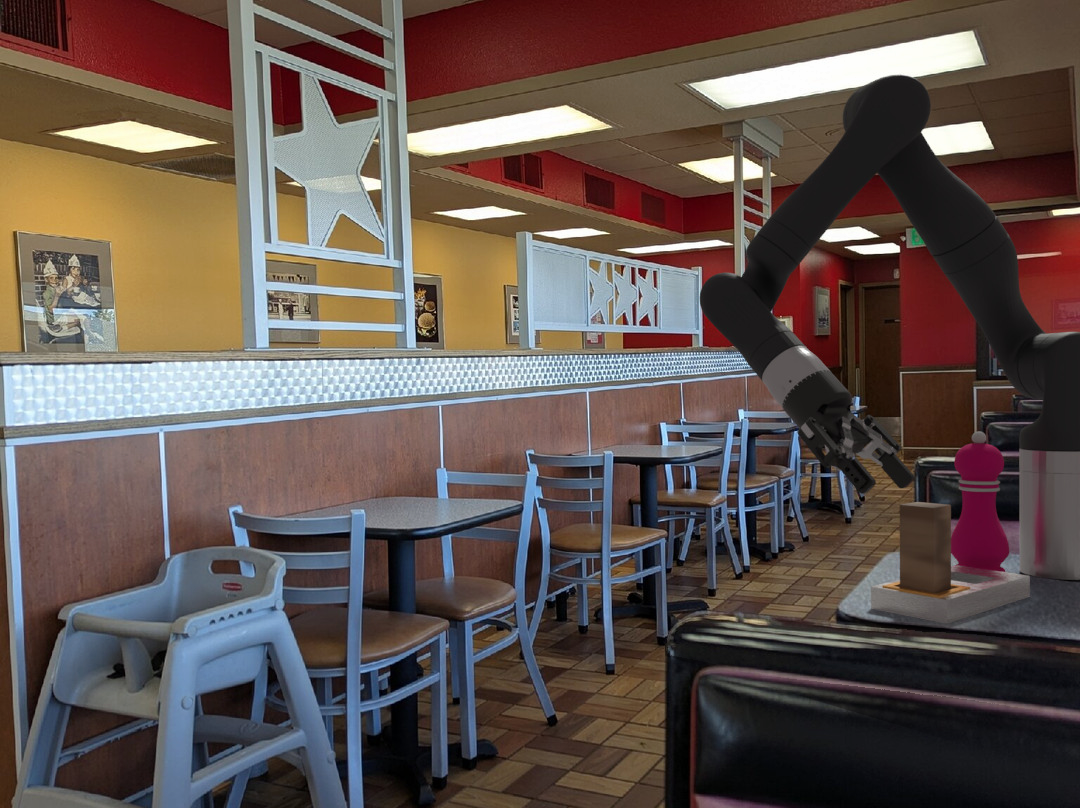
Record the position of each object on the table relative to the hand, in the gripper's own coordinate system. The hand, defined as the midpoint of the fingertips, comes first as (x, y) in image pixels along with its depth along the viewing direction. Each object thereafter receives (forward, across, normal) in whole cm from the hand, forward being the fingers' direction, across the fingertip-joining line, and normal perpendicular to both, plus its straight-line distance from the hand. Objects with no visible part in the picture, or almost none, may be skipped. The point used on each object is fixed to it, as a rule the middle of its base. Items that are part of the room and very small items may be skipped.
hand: (889, 486), depth 108 cm
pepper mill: (+10, +23, +11) cm, 27 cm away
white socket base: (+13, +6, +7) cm, 16 cm away
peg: (+13, 0, +7) cm, 14 cm away
